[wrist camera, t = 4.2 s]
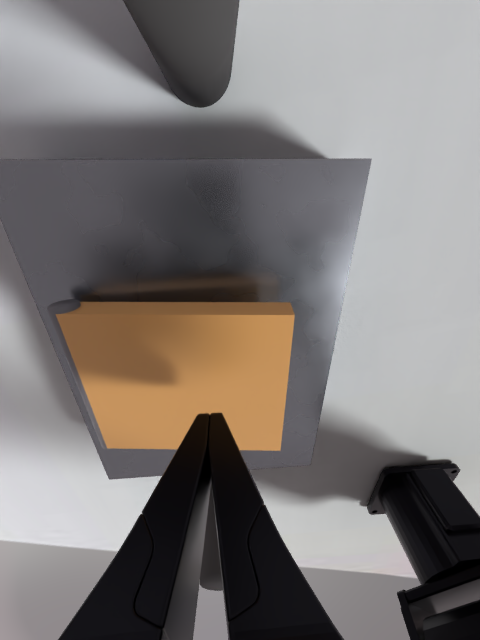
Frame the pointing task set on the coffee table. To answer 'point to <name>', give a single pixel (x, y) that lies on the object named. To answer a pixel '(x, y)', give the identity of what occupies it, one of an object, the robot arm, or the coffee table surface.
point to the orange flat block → (178, 368)
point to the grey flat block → (194, 257)
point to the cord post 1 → (190, 44)
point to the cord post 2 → (211, 552)
